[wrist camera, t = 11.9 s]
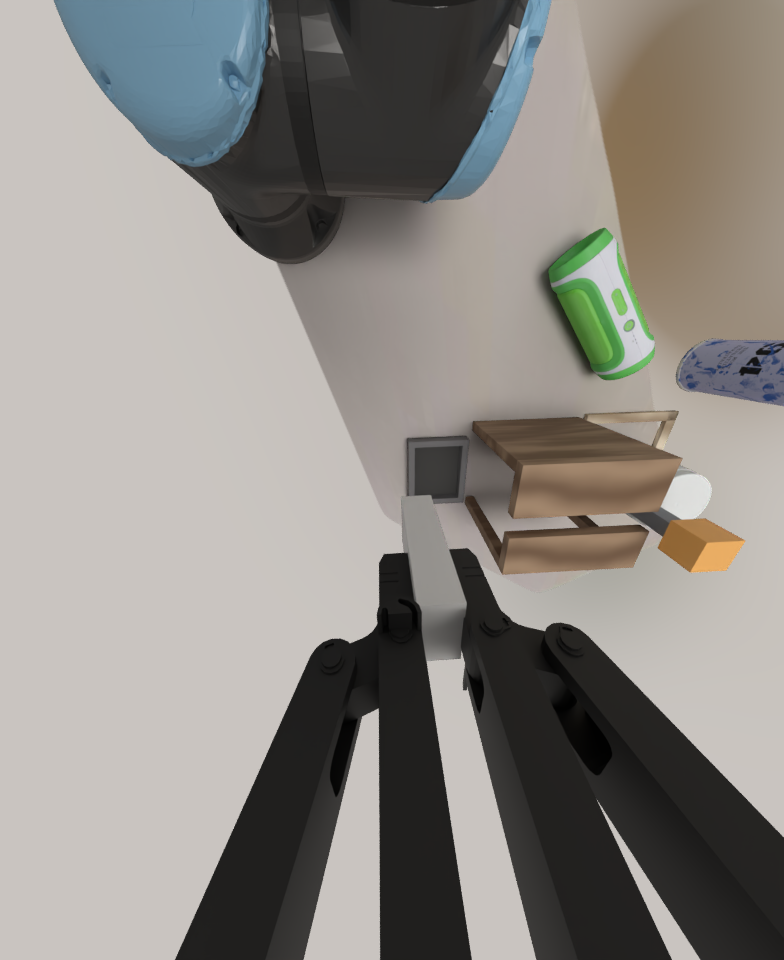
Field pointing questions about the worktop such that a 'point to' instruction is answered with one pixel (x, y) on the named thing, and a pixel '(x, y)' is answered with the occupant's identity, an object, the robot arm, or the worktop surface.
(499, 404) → the worktop surface
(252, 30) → the robot arm
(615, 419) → the frame
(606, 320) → the speaker
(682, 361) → the aerosol can
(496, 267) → the worktop surface
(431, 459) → the tray
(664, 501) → the supplement tub
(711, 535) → the slider
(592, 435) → the walnut tunnel
